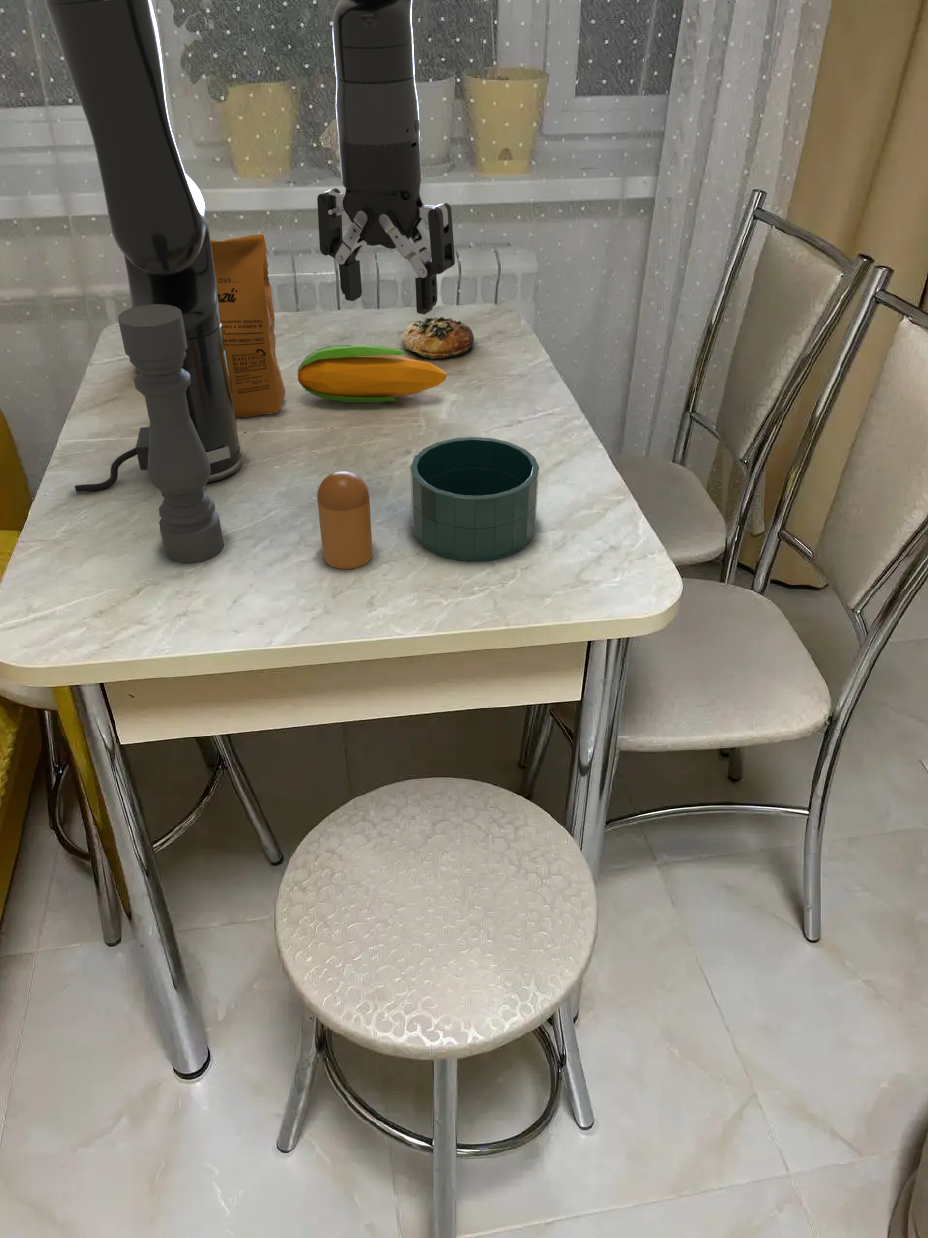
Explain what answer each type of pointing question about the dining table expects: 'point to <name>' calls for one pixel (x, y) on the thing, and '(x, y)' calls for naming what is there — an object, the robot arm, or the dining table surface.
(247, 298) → the coffee package
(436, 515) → the pot
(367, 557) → the brown rounded cylinder
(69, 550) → the dining table surface
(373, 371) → the corn
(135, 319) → the candle holder
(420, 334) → the bread roll
